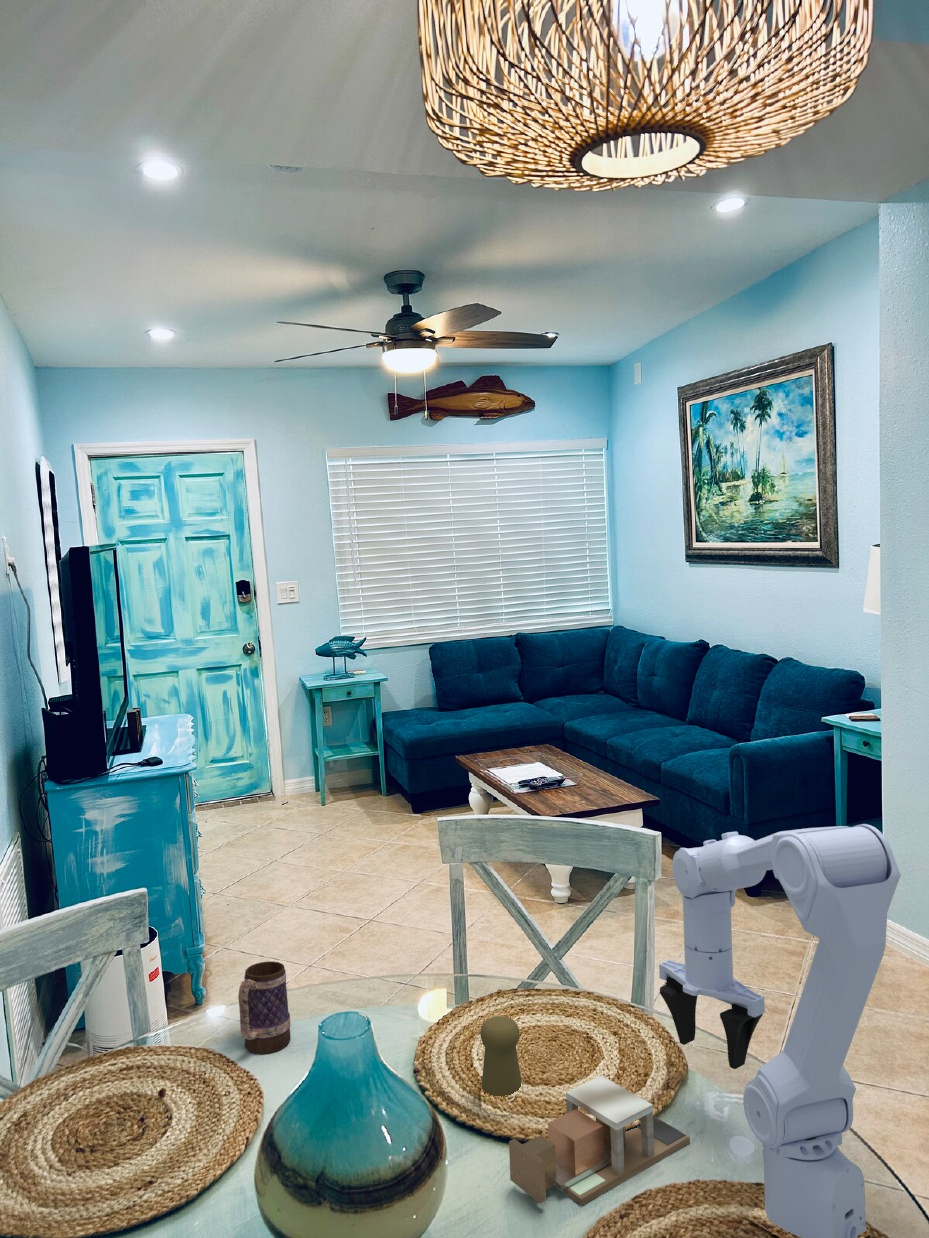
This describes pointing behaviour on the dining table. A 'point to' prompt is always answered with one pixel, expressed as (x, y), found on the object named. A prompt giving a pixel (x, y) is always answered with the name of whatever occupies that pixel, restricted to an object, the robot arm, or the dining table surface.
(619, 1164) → the tunnel board
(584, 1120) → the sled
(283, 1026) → the mug
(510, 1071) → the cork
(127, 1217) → the dining table surface
